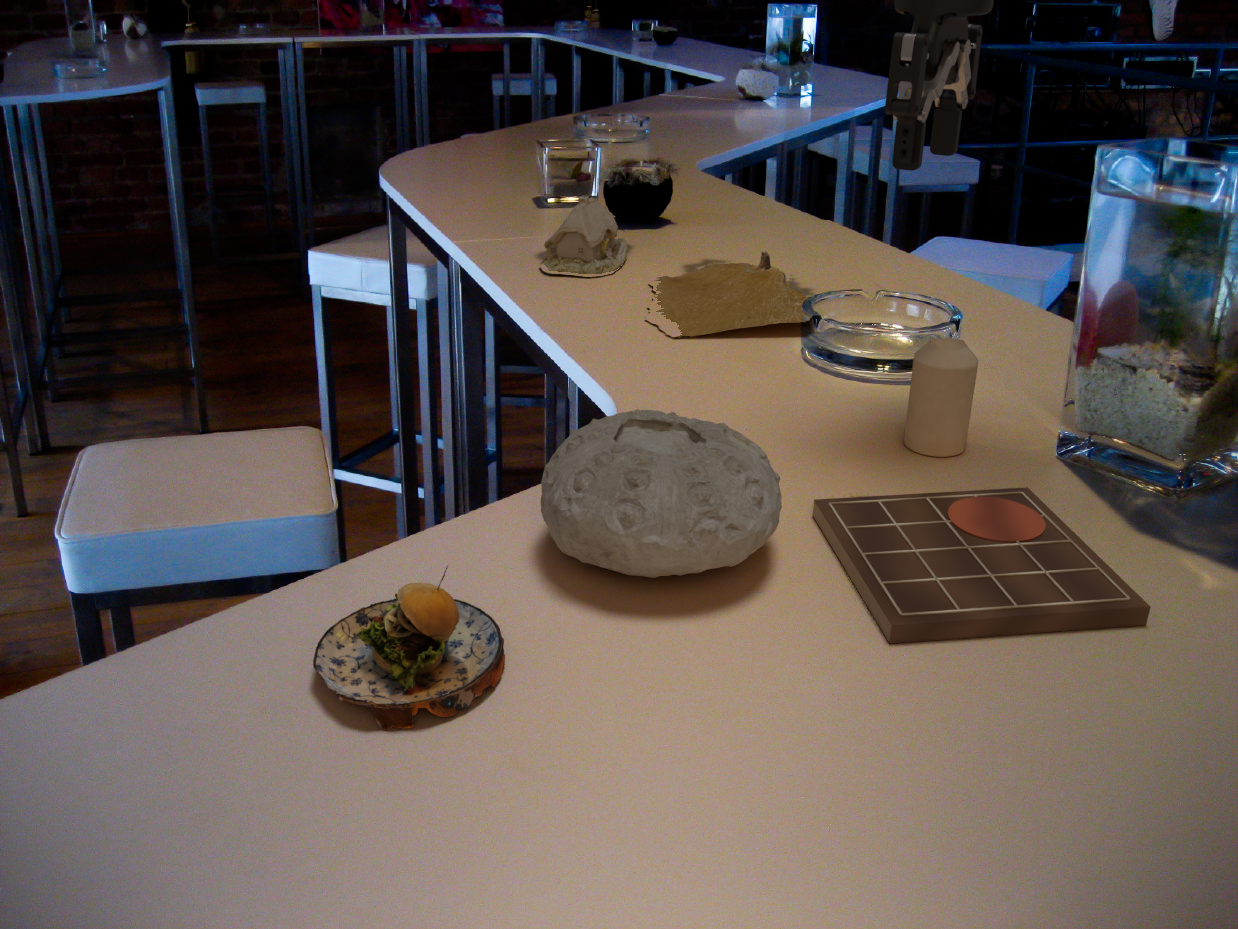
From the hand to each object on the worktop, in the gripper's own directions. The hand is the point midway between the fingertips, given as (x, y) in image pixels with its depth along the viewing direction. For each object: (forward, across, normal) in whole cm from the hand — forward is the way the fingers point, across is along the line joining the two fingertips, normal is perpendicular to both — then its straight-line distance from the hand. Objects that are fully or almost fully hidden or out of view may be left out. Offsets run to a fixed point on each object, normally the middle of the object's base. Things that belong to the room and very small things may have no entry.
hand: (925, 161), depth 91 cm
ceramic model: (+25, +32, +59) cm, 72 cm away
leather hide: (+25, +26, +33) cm, 49 cm away
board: (+25, -20, -13) cm, 35 cm away
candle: (+25, 0, -4) cm, 26 cm away
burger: (+25, -52, +11) cm, 59 cm away
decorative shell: (+25, -31, +6) cm, 40 cm away
